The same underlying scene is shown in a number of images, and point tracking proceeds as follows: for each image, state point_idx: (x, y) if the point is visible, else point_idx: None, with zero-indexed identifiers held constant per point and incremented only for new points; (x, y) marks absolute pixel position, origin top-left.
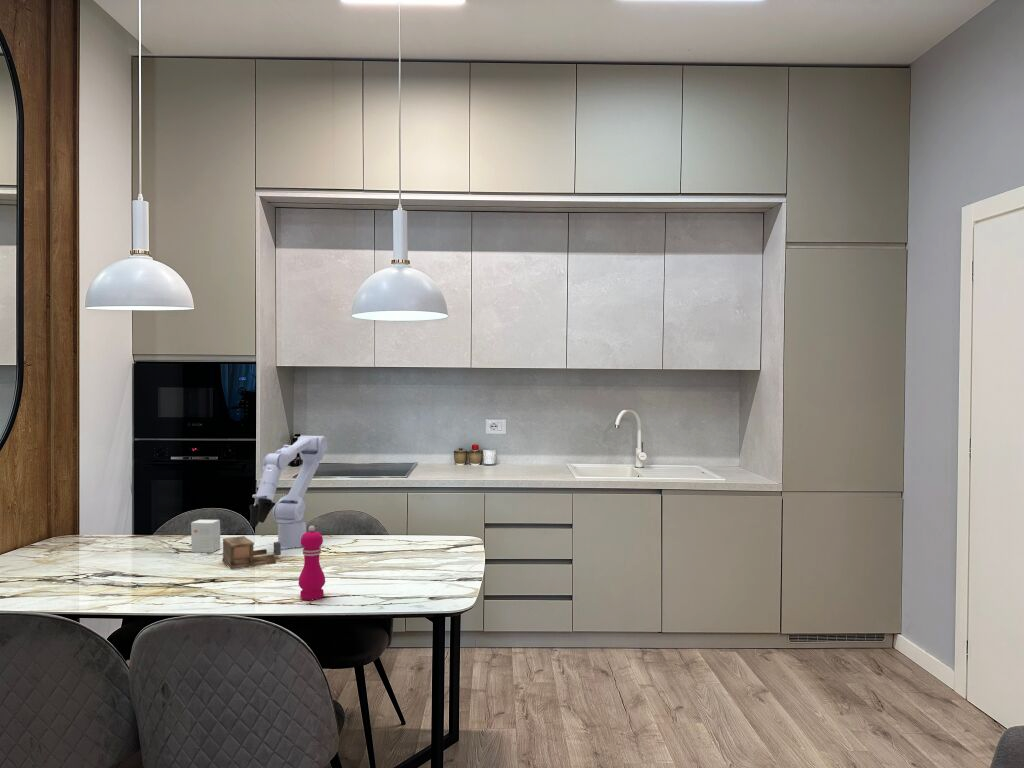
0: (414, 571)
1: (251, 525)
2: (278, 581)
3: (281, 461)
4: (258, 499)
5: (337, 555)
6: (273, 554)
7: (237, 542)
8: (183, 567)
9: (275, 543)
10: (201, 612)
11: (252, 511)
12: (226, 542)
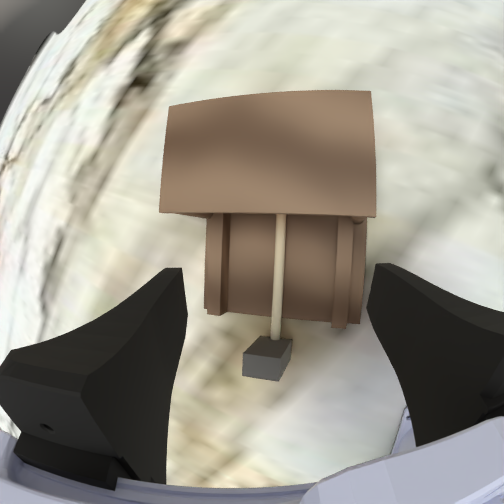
0: None
1: (377, 274)
2: (51, 230)
3: None
4: (67, 384)
5: (199, 479)
6: (217, 312)
7: (216, 136)
8: (345, 19)
9: (248, 354)
10: (22, 85)
11: (450, 325)
12: (284, 94)
